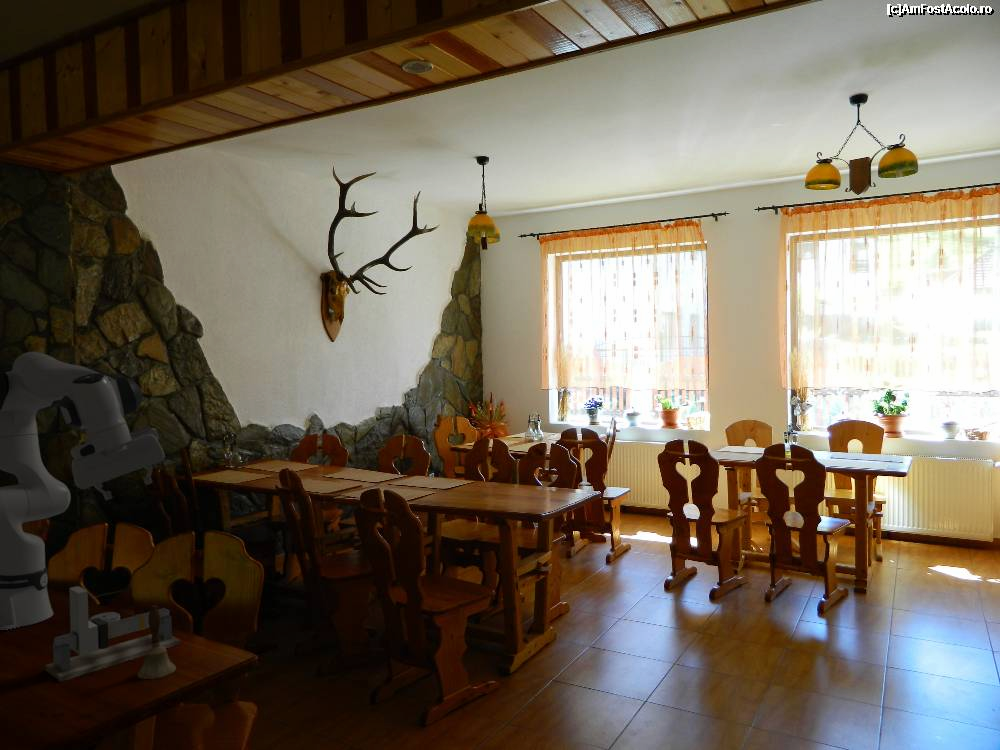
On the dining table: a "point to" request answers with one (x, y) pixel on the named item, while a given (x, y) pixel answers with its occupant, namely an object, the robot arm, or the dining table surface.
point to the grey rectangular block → (82, 622)
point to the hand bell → (155, 652)
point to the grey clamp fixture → (110, 635)
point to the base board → (108, 657)
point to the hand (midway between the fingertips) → (129, 491)
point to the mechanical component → (107, 617)
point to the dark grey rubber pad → (102, 632)
